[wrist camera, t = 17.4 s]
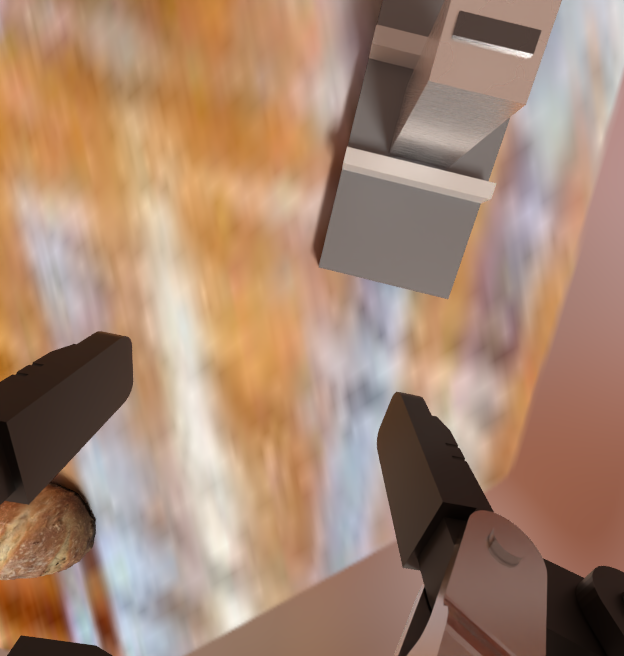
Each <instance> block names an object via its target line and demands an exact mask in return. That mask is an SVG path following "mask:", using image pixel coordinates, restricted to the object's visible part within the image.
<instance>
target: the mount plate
mask: <svg viewBox="0 0 624 656" xmlns="http://www.w3.org/2000/svg"><path fill="white" fill-rule="evenodd" d="M444 1H445V0H383V2H382V6H381V10H380V14H379V18H378V22H377V24H376V28H375V32H374V36H373V41H372V45H371V50H370V55H369V60H368V64H367V68H366V72H365V76H364V81H363V85H362V89H361V93H360V97H359V101H358V105H357V110H356V114H355V118H354V122H353V126H352V130H351V135H350V139H349V143H348V147H347V149H346V153H345V157H344V161H343V167H342V172H341V176H340V180H339V185H338V189H337V193H336V197H335V201H334V205H333V209H332V214H331V218H330V222H329V226H328V230H327V234H326V239H325V243H324V247H323V251H322V255H321V259H320V264H319V267H320V268H324V269H328V270H332V271H336V272H340V273H344V274H348V275H352V276H356V277H360V278H364V279H368V280H372V281H376V282H381V283H385V284H389V285H393V286H397V287H401V288H405V289H409V290H413V291H417V292H421V293H425V294H429V295H433V296H437V297H441V298H445V299H448V298H449V295H450V292H451V289H452V286H453V283H454V280H455V278H456V275H457V272H458V269H459V266H460V263H461V260H462V257H463V254H464V251H465V248H466V245H467V242H468V239H469V236H470V234H471V231H472V228H473V225H474V222H475V219H476V216H477V213H478V210H479V207H480V204H481V203H483V202H486V201H488V200H491V198H492V195H493V192H494V189H495V186H496V183H493V182H489V178H490V175H491V172H492V169H493V166H494V163H495V160H496V157H497V154H498V151H499V148H500V145H501V143H502V140H503V137H504V134H505V131H506V128H507V125H508V122H509V119H510V118H508V119H507V120H506V121H505V122H503V123H502V124H501V125H500V126H499V127H497V128H496V129H495V130H494V131H492V132H491V133H490V134H489V135H487V136H486V137H485V138H484V139H482V140H481V141H480V142H479V143H478V144H476V145H475V146H474V147H473V148H471V149H470V150H469V151H468V152H466V153H465V154H464V155H463V156H462V157H460V158H459V159H458V160H457V161H455V162H454V163H453V164H452V165H450V166H449V167H448V168H447V167H443V166H439V165H435V164H431V163H427V162H422V161H418V160H414V159H410V158H406V157H402V156H398V155H394V154H390V153H389V151H390V147H391V144H392V140H393V136H394V132H395V129H396V125H397V121H398V117H399V114H400V110H401V106H402V102H403V99H404V95H405V91H406V87H407V84H408V82H409V80H410V78H411V75H412V73H413V71H414V69H415V66H416V64H417V62H418V60H419V57H420V55H421V53H422V50H423V48H424V46H425V44H426V41H427V39H428V37H429V35H430V32H431V30H432V28H433V26H434V23H435V21H436V19H437V17H438V14H439V12H440V10H441V7H442V5H443V3H444Z"/></svg>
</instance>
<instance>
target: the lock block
mask: <svg viewBox="0 0 624 656" xmlns="http://www.w3.org/2000/svg"><path fill="white" fill-rule="evenodd" d="M561 1H562V0H445V1H444V3H443V5H442V7H441V10H440V12H439V14H438V17H437V19H436V21H435V23H434V26H433V28H432V30H431V32H430V35H429V37H428V39H427V41H426V44H425V46H424V48H423V50H422V53H421V55H420V57H419V60H418V62H417V64H416V66H415V69H414V71H413V73H412V75H411V78H410V80H409V82H408V84H407V87H406V91H405V95H404V99H403V102H402V106H401V110H400V114H399V117H398V121H397V125H396V129H395V132H394V136H393V140H392V144H391V147H390V151H389V153H390V154H394V155H398V156H402V157H406V158H410V159H414V160H418V161H422V162H427V163H431V164H435V165H439V166H443V167H447V168H448V167H449V166H450V165H452V164H453V163H454V162H455V161H457V160H458V159H459V158H460V157H462V156H463V155H464V154H465V153H466V152H468V151H469V150H470V149H471V148H473V147H474V146H475V145H476V144H478V143H479V142H480V141H481V140H482V139H484V138H485V137H486V136H487V135H489V134H490V133H491V132H492V131H494V130H495V129H496V128H497V127H499V126H500V125H501V124H502V123H503V122H505V121H506V120H507V119H508V118H510V117H511V116H512V115H513V114H515V113H516V112H517V111H518V110H520V109H521V108H522V107H523V106H524V105H526V102H527V100H528V97H529V94H530V91H531V88H532V85H533V82H534V79H535V76H536V73H537V71H538V68H539V65H540V62H541V59H542V56H543V53H544V50H545V47H546V45H547V42H548V39H549V36H550V33H551V30H552V27H553V24H554V21H555V18H556V16H557V13H558V10H559V7H560V4H561Z"/></svg>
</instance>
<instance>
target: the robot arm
mask: <svg viewBox="0 0 624 656" xmlns="http://www.w3.org/2000/svg"><path fill="white" fill-rule="evenodd" d="M132 386H133V363H132V343H131V340H130V338H129V337H126V336H121V335H116V334H112V333H107V332H102V331H99V332H96V333H94V334H92V335H91V336H89V337H88V338H86V339H84V340H83V341H81V342H80V343H78V344H73V345H70V346H67V347H64V348H61V349H58V350H55V351H52V352H50V353H48V354H46V355H45V356H43V357H41V358H40V359H38V360H36V361H35V362H33V364H32V365H28V366H26V367H24V368H23V369H21V370H19V371H18V372H17V374H16V375H11V376H9V377H8V378H6V379H4V380H3V381H1V382H0V505H1V504H2V503H3V502H4V501H9V502H15V503H21V504H27V505H29V504H30V503H31V502H32V501H33V500H34V499H35V498H36V497H37V496H38V494H39V493H40V492H41V491H42V490H43V489H44V488H45V487H46V486H47V485H48V484H49V483H50V482H51V481H52V479H53V478H54V477H55V476H56V475H57V474H58V473H59V472H60V471H61V470H62V469H63V468H64V467H65V466H66V464H67V463H68V462H69V461H70V460H71V459H72V458H73V457H74V456H75V455H76V454H77V453H78V452H79V451H80V449H81V448H82V447H83V446H84V445H85V444H86V443H87V442H88V441H89V440H90V439H91V438H92V437H93V435H94V434H95V433H96V432H97V431H98V430H99V429H100V428H101V427H102V426H103V425H104V424H105V423H106V422H107V420H108V419H109V418H110V417H111V416H112V415H113V414H114V413H115V412H116V411H117V410H118V409H119V408H120V407H121V405H122V404H123V403H124V402H125V401H126V400H127V398H128V396H129V394H130V392H131V389H132ZM377 450H378V455H379V460H380V464H381V469H382V474H383V478H384V483H385V487H386V492H387V497H388V501H389V506H390V511H391V515H392V520H393V524H394V529H395V534H396V538H397V543H398V548H399V552H400V556H401V561H402V566H403V568H408V569H414V570H420V571H421V574H422V578H423V582H424V584H423V585H422V587H421V589H420V590H419V593H418V595H417V598H416V601H415V603H414V605H413V608H412V611H411V613H410V616H409V618H408V621H407V623H406V626H405V628H404V631H403V634H402V636H401V639H400V641H399V644H398V646H397V649H396V652H395V654H394V656H624V572H622V571H620V570H617V569H615V568H612V567H607V566H599V567H597V568H595V569H594V570H593V571H592V572H591V573H590V574H589V575H587V576H586V577H585V578H583V577H581V576H579V575H577V574H575V573H573V572H570V571H568V570H566V569H564V568H562V567H560V566H558V565H556V564H554V563H552V562H550V561H548V560H545V559H543V558H542V556H541V554H540V553H539V551H538V549H537V548H536V547H535V545H534V544H533V542H532V541H531V540H530V539H529V537H528V536H527V535H526V534H525V533H524V532H523V531H522V530H521V529H519V528H518V527H517V526H516V525H514V524H513V523H512V522H511V521H509V520H507V519H506V518H504V517H502V516H501V515H498V514H496V513H494V512H493V510H492V508H491V506H490V504H489V502H488V501H487V499H486V497H485V495H484V493H483V491H482V489H481V487H480V485H479V484H478V482H477V480H476V478H475V476H474V474H473V472H472V471H471V469H470V467H469V465H468V463H467V462H466V461H465V458H464V456H463V454H462V452H461V450H460V448H458V445H457V443H456V441H455V439H454V437H453V435H452V433H451V431H450V430H449V429H448V428H447V427H446V426H445V425H444V424H443V423H442V422H441V421H440V420H439V419H438V417H436V416H432V415H431V413H430V411H429V409H428V407H427V405H426V403H425V401H424V399H423V398H422V397H420V396H415V395H411V394H406V393H401V392H396V393H395V394H394V395H393V397H392V399H391V402H390V404H389V406H388V409H387V411H386V414H385V416H384V419H383V421H382V424H381V426H380V429H379V432H378V437H377ZM7 656H112V655H110V654H109V653H107V652H106V651H104V650H102V649H101V648H99V647H97V646H95V645H87V644H80V643H73V642H65V641H58V640H51V639H43V638H36V637H28V636H20V638H19V639H18V641H17V642H16V643H15V645H14V646H13V648H12V649H11V651H10V652H9V654H8V655H7Z"/></svg>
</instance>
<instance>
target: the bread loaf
mask: <svg viewBox="0 0 624 656" xmlns="http://www.w3.org/2000/svg"><path fill="white" fill-rule="evenodd" d="M90 514H91V512H90V510H89V507H88V505H87V504H86V503H85V502H84V501H83V500H82V499H81V497H80V496H79V495H78V494H77V493H76V492H74V491H72V490H70V489H67V488H65V487H62V486H61V485H58V484H52V483H49V484H48V485H47V486H46V487H45V488H44V489H43V490H42V491H41V492H40V493H39V494H38V496H37V497H36V498H35V499H34V500H33V501H32V502H31V503H30V504H29V505H27V504H21V503H15V502H9V501H4V502H3V503H2V504H1V505H0V580H9V579H16V578H35V577H39V576H44V575H47V574H53V573H55V572H59V571H62V570H66V569H67V568H69V567H71V566H73V564H75V563H77V562H79V561H80V560H81V559H82V558H83V557H84V555H85V554H86V553H87V552H89V550H90V549H91V548H92V547H93V544H94V537H95V534H96V525H95V521H94V519H93V518H92V517H91V516H90Z"/></svg>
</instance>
